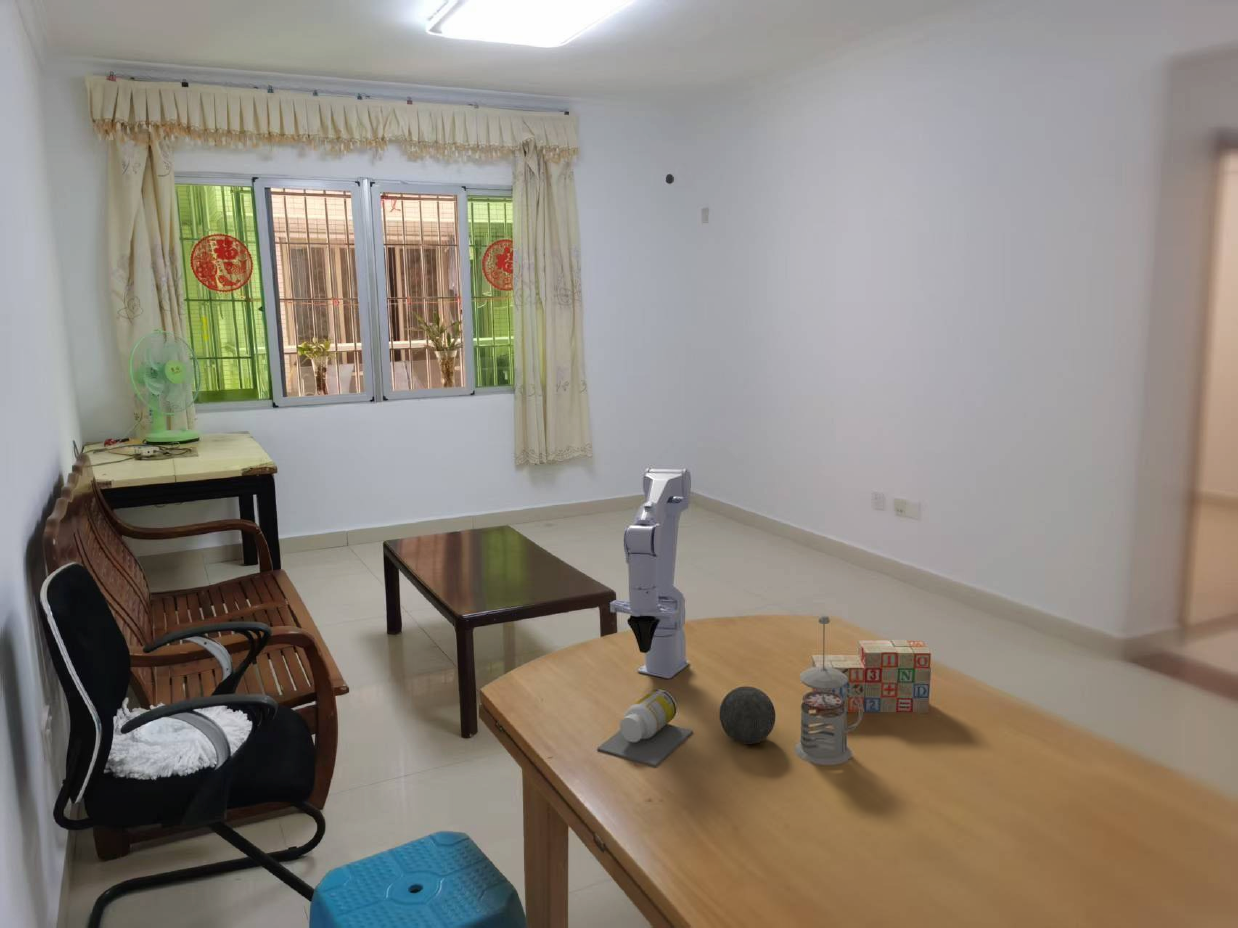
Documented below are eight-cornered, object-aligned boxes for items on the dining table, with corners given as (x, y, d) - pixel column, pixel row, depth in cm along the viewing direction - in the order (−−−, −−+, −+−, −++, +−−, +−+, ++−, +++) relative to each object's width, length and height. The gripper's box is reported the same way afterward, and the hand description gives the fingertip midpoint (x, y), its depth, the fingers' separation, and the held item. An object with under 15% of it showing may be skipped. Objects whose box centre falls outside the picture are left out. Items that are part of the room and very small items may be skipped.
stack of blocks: (815, 712, 171) (816, 652, 169) (811, 698, 177) (811, 639, 175) (929, 713, 169) (931, 652, 167) (921, 698, 175) (922, 639, 173)
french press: (805, 732, 163) (806, 602, 158) (869, 747, 157) (871, 612, 153) (786, 756, 155) (786, 620, 150) (852, 773, 149) (854, 631, 144)
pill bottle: (644, 707, 171) (610, 732, 161) (655, 681, 168) (621, 705, 159) (671, 727, 168) (638, 754, 159) (683, 701, 166) (650, 727, 156)
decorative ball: (770, 757, 155) (770, 704, 153) (714, 750, 158) (713, 697, 156) (779, 731, 164) (779, 680, 162) (726, 724, 167) (725, 674, 165)
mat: (637, 718, 171) (637, 716, 171) (693, 732, 165) (693, 730, 164) (597, 750, 159) (597, 748, 159) (655, 766, 153) (655, 764, 153)
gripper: (601, 586, 175) (603, 651, 177) (666, 596, 167) (668, 664, 170) (619, 576, 181) (621, 639, 183) (683, 585, 173) (684, 651, 176)
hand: (645, 650), depth 177 cm, fingers closed
